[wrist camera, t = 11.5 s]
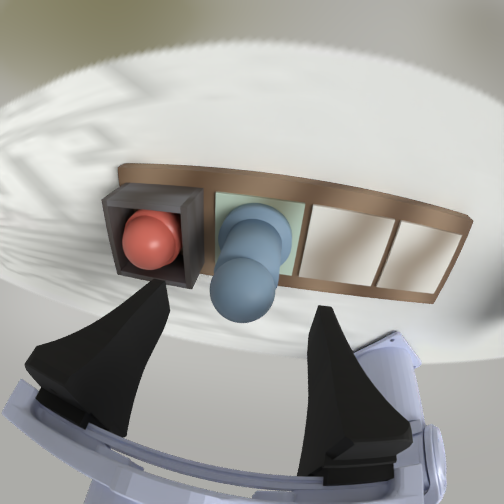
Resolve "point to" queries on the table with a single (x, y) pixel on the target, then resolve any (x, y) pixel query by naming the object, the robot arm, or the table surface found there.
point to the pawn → (249, 261)
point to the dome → (152, 238)
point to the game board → (296, 230)
